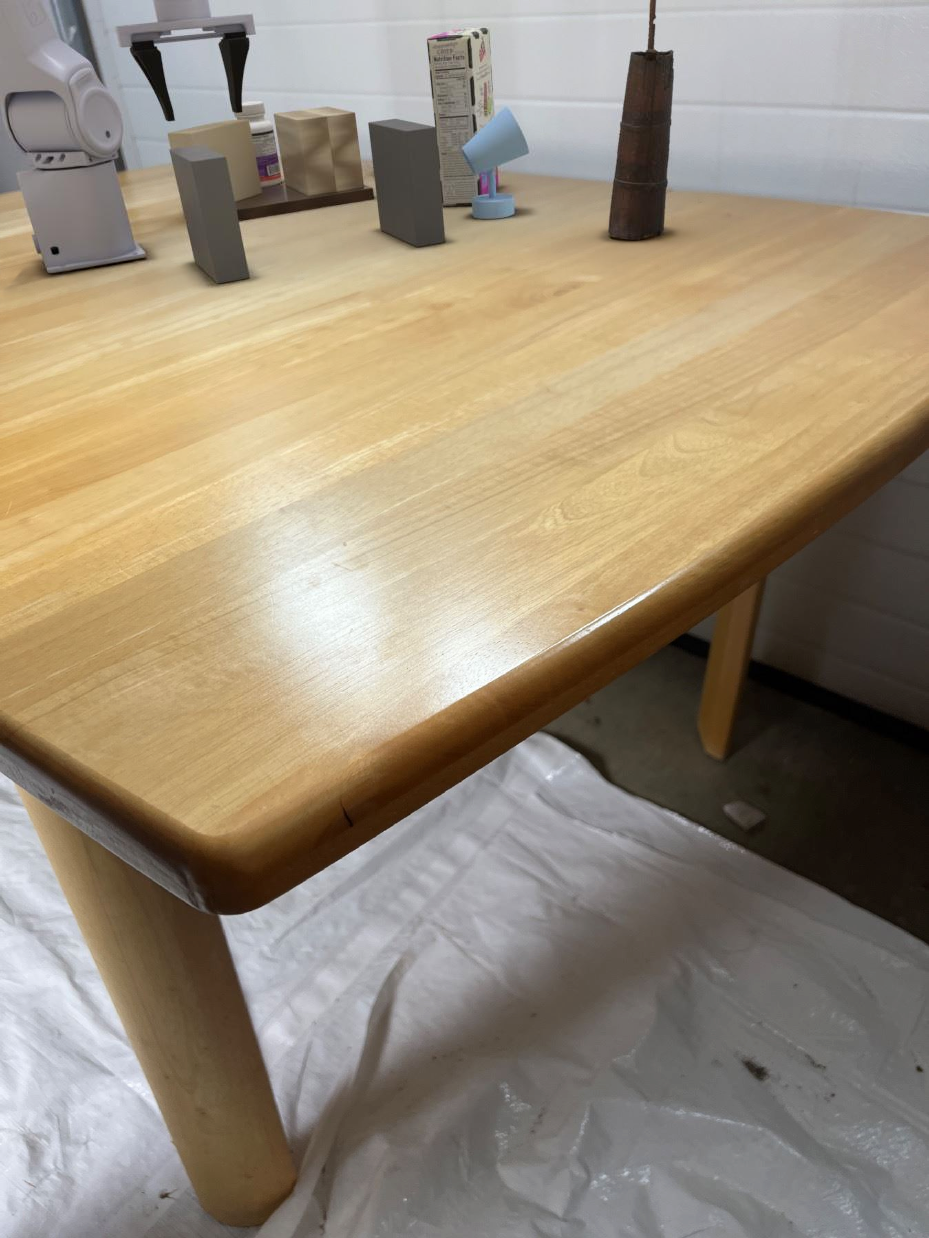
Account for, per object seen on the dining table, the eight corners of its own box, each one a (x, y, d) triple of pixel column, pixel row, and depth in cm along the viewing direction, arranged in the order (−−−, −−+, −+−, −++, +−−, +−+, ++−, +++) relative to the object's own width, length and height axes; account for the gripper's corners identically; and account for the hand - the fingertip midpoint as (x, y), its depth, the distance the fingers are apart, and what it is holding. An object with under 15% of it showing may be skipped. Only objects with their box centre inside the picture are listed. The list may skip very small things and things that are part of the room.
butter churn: (673, 251, 81) (696, -165, 65) (571, 246, 85) (569, -147, 69) (702, 227, 87) (729, -157, 71) (606, 224, 91) (612, -141, 75)
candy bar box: (459, 188, 113) (448, 29, 104) (499, 186, 112) (491, 26, 103) (438, 207, 104) (424, 36, 95) (482, 206, 103) (472, 32, 94)
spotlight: (523, 206, 101) (461, 213, 101) (520, 102, 96) (454, 109, 95) (534, 214, 97) (470, 222, 97) (532, 107, 92) (463, 113, 91)
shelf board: (210, 225, 105) (190, 135, 100) (189, 209, 114) (170, 125, 109) (374, 198, 111) (364, 112, 106) (341, 185, 120) (331, 105, 115)
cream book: (262, 193, 113) (249, 119, 108) (206, 211, 106) (190, 133, 101) (240, 192, 114) (226, 120, 110) (184, 210, 107) (166, 133, 103)
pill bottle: (240, 184, 127) (225, 104, 122) (279, 179, 128) (265, 99, 123) (244, 190, 123) (229, 107, 117) (285, 185, 124) (271, 102, 118)
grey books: (217, 284, 83) (190, 161, 77) (194, 262, 90) (168, 149, 85) (445, 242, 90) (436, 127, 84) (406, 225, 97) (396, 118, 92)
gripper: (233, -33, 102) (257, 106, 110) (98, -23, 98) (134, 121, 105) (249, -37, 97) (273, 110, 105) (107, -26, 92) (144, 126, 100)
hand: (204, 116), depth 105 cm, fingers open, 7 cm apart
